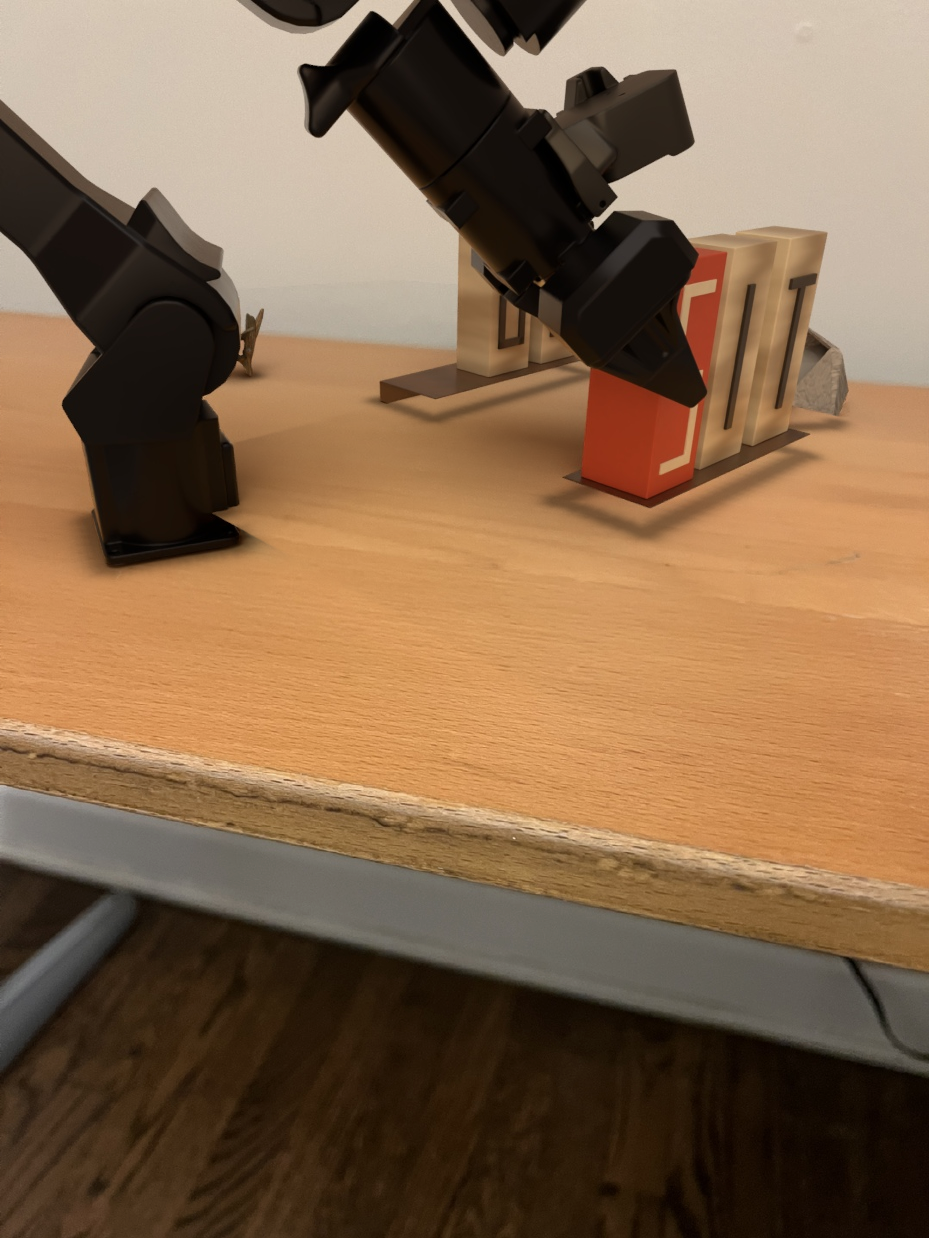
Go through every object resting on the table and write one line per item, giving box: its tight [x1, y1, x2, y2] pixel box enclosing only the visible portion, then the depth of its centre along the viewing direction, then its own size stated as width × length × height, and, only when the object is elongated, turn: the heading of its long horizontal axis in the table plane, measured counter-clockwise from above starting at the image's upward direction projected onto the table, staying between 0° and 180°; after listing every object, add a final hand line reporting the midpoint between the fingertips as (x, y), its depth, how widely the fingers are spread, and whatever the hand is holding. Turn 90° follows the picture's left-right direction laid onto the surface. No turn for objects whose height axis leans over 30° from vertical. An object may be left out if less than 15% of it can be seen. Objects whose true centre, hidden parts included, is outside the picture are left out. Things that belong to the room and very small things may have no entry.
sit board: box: [562, 225, 828, 509], centre depth 52 cm, size 18×6×14 cm, turn 135°
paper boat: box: [792, 326, 849, 417], centre depth 67 cm, size 12×6×9 cm
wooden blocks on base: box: [379, 233, 581, 404], centre depth 69 cm, size 18×6×14 cm, turn 135°
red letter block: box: [580, 247, 727, 499], centre depth 48 cm, size 4×5×12 cm
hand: (662, 375), depth 49 cm, fingers open, 9 cm apart
